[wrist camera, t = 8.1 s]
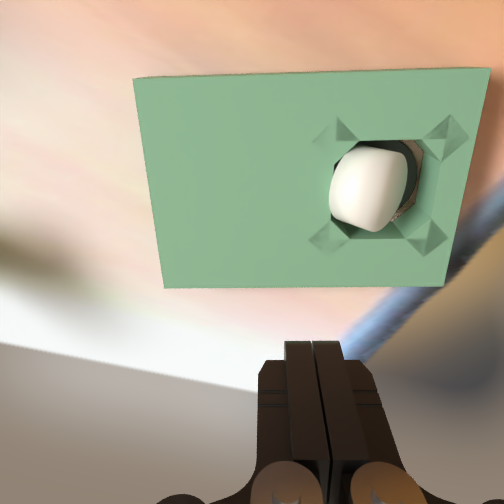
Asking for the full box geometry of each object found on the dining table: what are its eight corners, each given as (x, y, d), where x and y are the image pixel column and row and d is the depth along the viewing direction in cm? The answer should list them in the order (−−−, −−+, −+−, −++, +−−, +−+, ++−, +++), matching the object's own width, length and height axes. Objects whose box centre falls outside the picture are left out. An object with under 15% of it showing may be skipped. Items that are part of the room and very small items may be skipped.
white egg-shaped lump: (332, 154, 23) (370, 163, 21) (377, 137, 26) (413, 144, 24) (326, 230, 25) (359, 243, 24) (367, 207, 28) (399, 217, 27)
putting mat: (172, 268, 31) (164, 288, 28) (146, 76, 25) (132, 78, 22) (427, 266, 30) (443, 286, 28) (466, 66, 24) (491, 67, 21)
